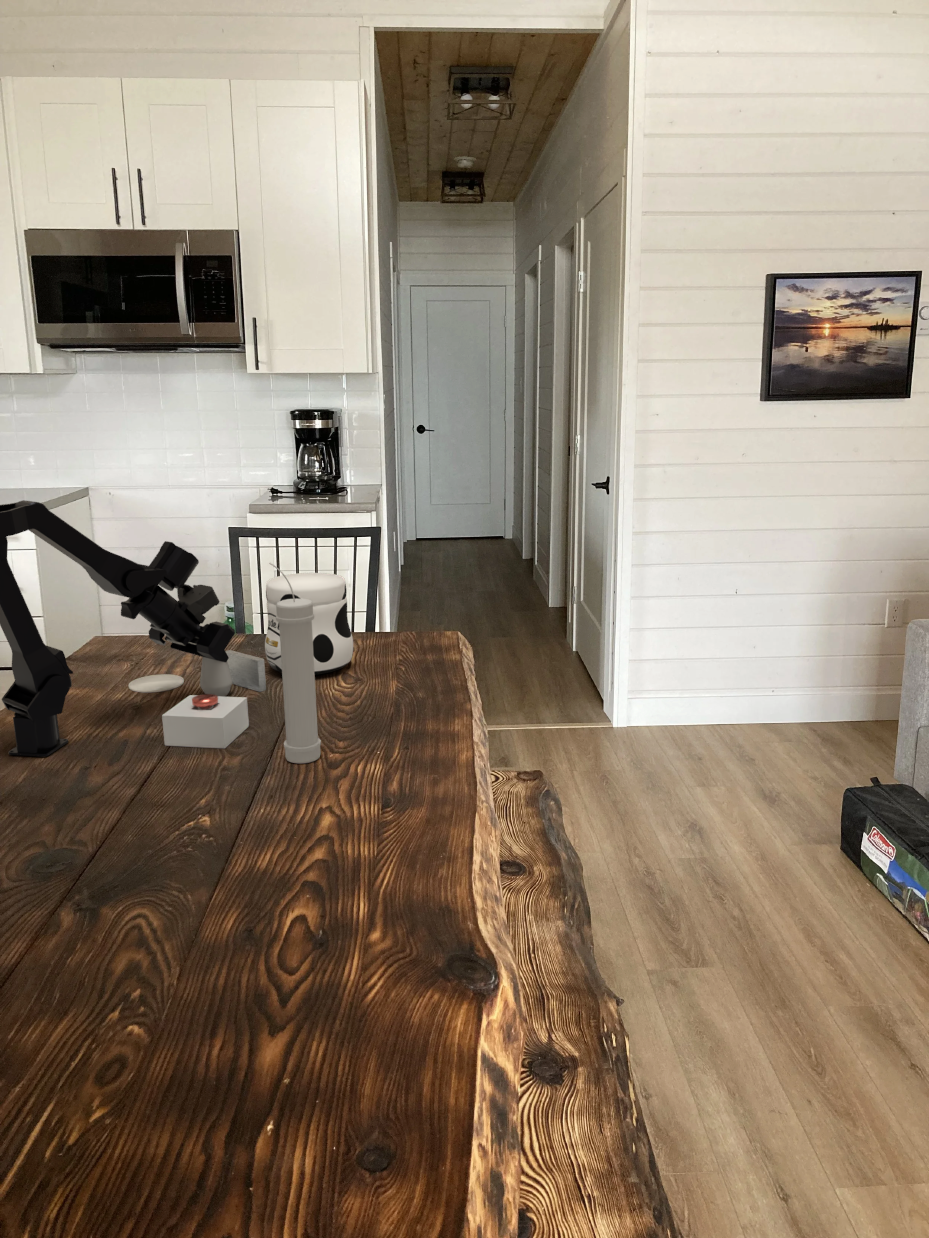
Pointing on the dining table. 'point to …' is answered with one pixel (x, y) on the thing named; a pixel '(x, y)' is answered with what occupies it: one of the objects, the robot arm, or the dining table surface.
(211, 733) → the button block
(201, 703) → the plunger
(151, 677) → the coaster
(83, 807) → the dining table surface
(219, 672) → the salt shaker
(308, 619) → the grey cylinder
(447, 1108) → the dining table surface
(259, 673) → the flat rectangular plate
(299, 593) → the milk container
